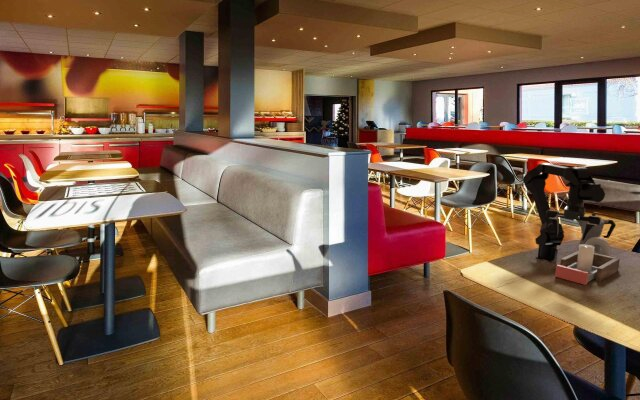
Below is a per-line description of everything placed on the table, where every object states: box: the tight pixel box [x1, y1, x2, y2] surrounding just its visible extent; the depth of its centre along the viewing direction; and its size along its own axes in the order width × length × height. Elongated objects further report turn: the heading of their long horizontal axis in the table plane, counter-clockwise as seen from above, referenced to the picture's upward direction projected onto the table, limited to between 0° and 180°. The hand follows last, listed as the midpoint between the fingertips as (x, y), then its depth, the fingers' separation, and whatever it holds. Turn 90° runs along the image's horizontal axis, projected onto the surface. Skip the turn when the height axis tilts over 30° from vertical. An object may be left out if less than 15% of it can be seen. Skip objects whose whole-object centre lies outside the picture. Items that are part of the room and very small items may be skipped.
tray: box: [554, 262, 598, 286], centre depth 174 cm, size 11×17×4 cm, turn 130°
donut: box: [585, 236, 612, 256], centre depth 193 cm, size 10×4×10 cm, turn 40°
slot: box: [559, 251, 621, 282], centre depth 180 cm, size 15×18×5 cm
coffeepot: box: [575, 212, 617, 252], centre depth 201 cm, size 15×9×18 cm, turn 70°
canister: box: [576, 244, 595, 273], centre depth 176 cm, size 5×5×10 cm
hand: (569, 238), depth 179 cm, fingers open, 9 cm apart
